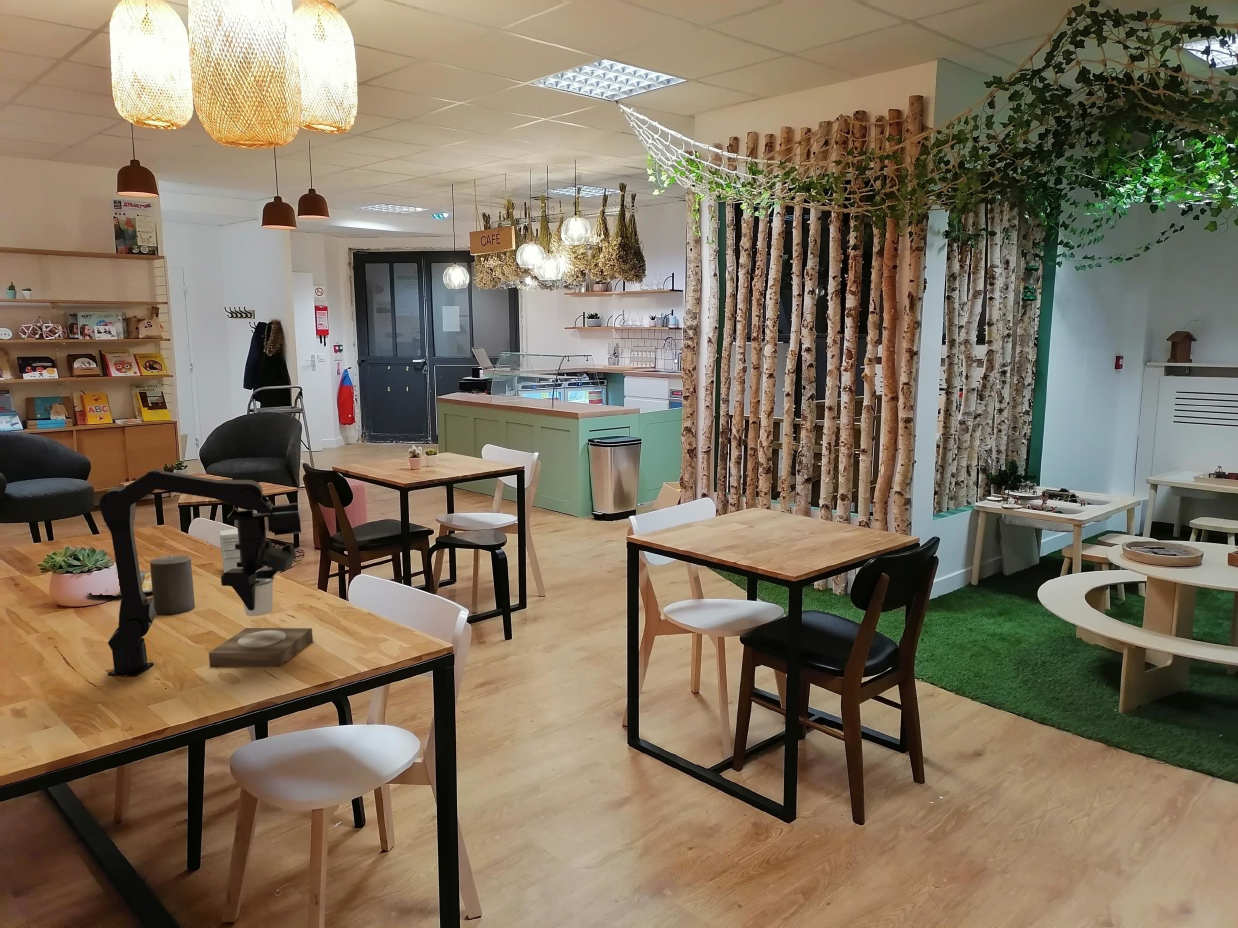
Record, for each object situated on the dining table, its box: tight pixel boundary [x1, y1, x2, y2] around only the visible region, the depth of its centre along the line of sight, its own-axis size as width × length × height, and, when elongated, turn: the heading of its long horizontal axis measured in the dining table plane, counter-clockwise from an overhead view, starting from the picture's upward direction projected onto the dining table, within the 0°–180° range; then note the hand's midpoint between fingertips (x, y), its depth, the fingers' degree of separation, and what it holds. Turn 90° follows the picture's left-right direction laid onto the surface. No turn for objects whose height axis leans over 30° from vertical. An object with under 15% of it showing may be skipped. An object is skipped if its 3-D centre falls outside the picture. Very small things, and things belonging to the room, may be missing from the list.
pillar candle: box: [149, 554, 196, 616], centre depth 227 cm, size 10×10×15 cm
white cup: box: [242, 578, 274, 617], centre depth 192 cm, size 7×7×7 cm
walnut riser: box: [208, 627, 314, 667], centre depth 194 cm, size 16×16×4 cm
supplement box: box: [219, 528, 243, 574], centre depth 264 cm, size 7×7×13 cm
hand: (258, 605), depth 192 cm, fingers closed on white cup, 6 cm apart
